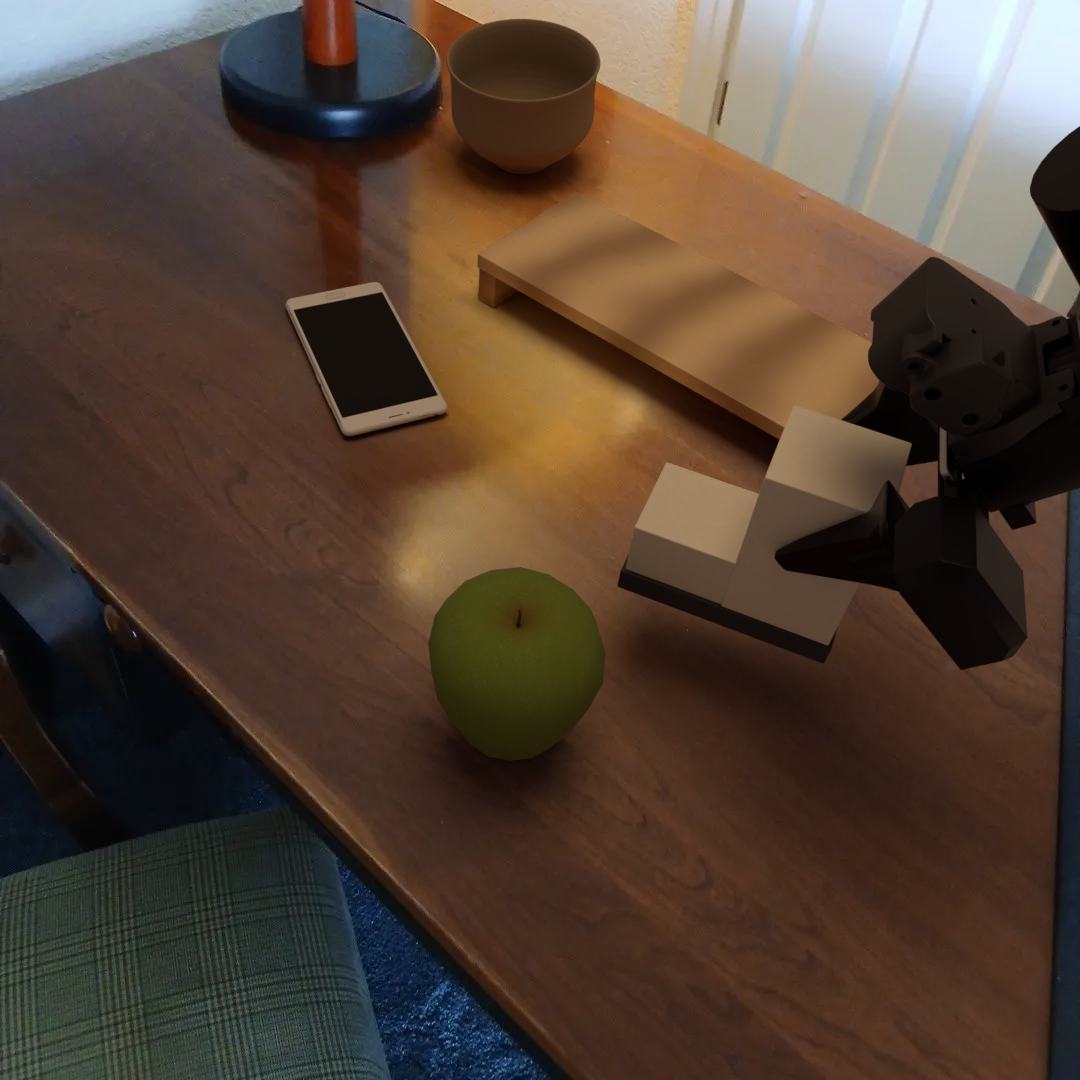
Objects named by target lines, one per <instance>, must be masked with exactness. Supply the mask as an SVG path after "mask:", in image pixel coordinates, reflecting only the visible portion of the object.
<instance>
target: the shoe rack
mask: <svg viewBox="0 0 1080 1080" xmlns="http://www.w3.org/2000/svg"><path fill="white" fill-rule="evenodd" d="M476 266H477V268H478V294H477V295H478V297H477V298H478V300H480V301H481V302H483V303H484V304H486V305H488V306H490V307H491V308H496V307H497V306H498V305H500V304H501V303H503V302H504V301H506V300H507V299H509V298H510V297H512V296H513V295H514V294H516V293H517V292H520V293H522V294H523V295H525V296H527V297H528V298H531V299H532V300H534V301H535V302H537V303H539V304H540V305H543V306H545V307H546V308H547V309H549V310H551V311H553V312H555V313H556V314H559V315H560V316H562V317H563V318H565V319H567V320H569V321H571V322H572V323H574V324H575V325H578V326H579V327H581V328H583V329H585V331H588V332H590V333H591V334H593V335H595V336H596V337H598V338H601V339H602V340H603V341H606V342H608V343H609V344H611V345H613V346H614V347H616V348H618V349H620V350H621V351H623V352H625V353H627V354H629V355H630V356H632V357H634V358H635V359H637V360H638V361H640V362H642V363H644V364H646V365H648V366H649V367H651V368H653V369H655V370H656V371H659V372H660V373H662V374H663V375H664V376H667V377H669V378H670V379H672V380H674V381H676V382H677V383H680V384H681V385H683V386H684V387H686V388H687V389H690V390H691V391H693V392H694V393H697V394H698V395H700V396H702V397H703V398H706V399H707V400H709V401H711V402H713V403H714V404H716V405H717V406H720V407H721V408H723V409H724V410H726V411H729V412H730V413H731V414H733V415H736V416H737V417H739V418H741V419H743V420H744V421H746V422H748V423H750V424H751V425H753V426H755V427H756V428H758V429H760V430H761V431H763V432H765V433H766V434H768V435H770V436H772V437H774V438H776V439H778V441H779V440H780V438H781V435H782V433H783V430H784V427H785V425H786V422H787V420H788V417H789V415H790V412H791V410H792V407H793V406H794V405H796V406H799V407H802V408H805V409H808V410H811V411H814V412H817V413H820V414H823V415H827V416H830V417H833V418H836V419H839V420H841V419H842V418H843V417H845V416H846V415H847V414H848V413H849V412H851V411H852V410H853V409H854V408H855V407H856V406H857V405H859V404H860V403H861V402H862V401H863V400H864V399H865V398H866V397H867V396H868V395H869V394H870V393H872V392H873V391H874V389H875V388H876V387H877V385H878V383H879V379H878V378H877V377H876V376H875V375H874V373H873V372H872V370H871V368H870V366H869V362H868V350H869V348H870V347H871V345H872V341H869V340H868V339H866V338H864V337H861V336H859V335H857V334H856V333H854V332H852V331H850V330H848V329H846V328H844V327H842V326H840V325H838V324H836V323H834V322H833V321H830V320H828V319H826V318H825V317H822V316H820V315H819V314H817V313H815V312H813V311H811V310H809V309H807V308H806V307H803V306H801V305H800V304H797V303H795V302H793V301H791V300H789V299H787V298H785V297H784V296H782V295H780V294H778V293H776V292H774V291H772V290H770V289H768V288H766V287H764V286H763V285H760V284H759V283H756V282H755V281H753V280H752V279H748V278H747V277H745V276H743V275H741V274H739V273H737V272H735V271H733V270H731V269H730V268H727V267H725V266H724V265H721V264H719V263H718V262H715V261H714V260H712V259H710V258H708V257H706V256H704V255H702V254H700V253H698V252H696V251H694V250H692V249H690V248H688V247H687V246H684V245H683V244H680V243H679V242H676V241H675V240H673V239H671V238H669V237H667V236H665V235H663V234H661V233H659V232H658V231H655V230H653V229H652V228H650V227H647V226H646V225H643V224H642V223H640V222H638V221H636V220H634V219H632V218H629V217H628V216H626V215H624V214H622V213H620V212H618V211H616V210H615V209H612V208H610V207H608V206H606V205H604V204H603V203H601V202H598V201H597V200H596V199H593V198H591V197H589V196H587V195H586V194H584V193H581V192H579V191H578V190H577V191H574V192H572V193H571V194H569V195H568V196H566V197H565V198H563V199H562V200H560V201H558V202H557V203H556V204H553V205H552V206H551V207H549V208H547V209H546V210H544V211H542V212H541V213H540V214H537V216H535V217H534V218H532V219H530V220H529V221H527V222H525V223H524V224H522V225H521V226H519V227H518V228H516V229H515V230H513V231H511V232H509V233H508V234H507V235H505V236H504V237H502V238H500V239H499V240H498V241H496V242H494V243H493V244H491V245H490V246H487V248H485V249H483V250H481V251H480V252H479V253H478V254H477V264H476Z"/></svg>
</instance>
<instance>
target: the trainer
mask: <svg viewBox="0 0 1080 1080" xmlns="http://www.w3.org/2000/svg"><path fill="white" fill-rule="evenodd" d="M911 446H912V444H911V443H909V442H906V441H903V440H900V439H897V438H894V437H891V436H888V435H885V434H882V433H879V432H876V431H872V430H869V429H866V428H863V427H860V426H857V425H854V424H851V423H848V422H845V421H842V420H839V419H836V418H833V417H830V416H827V415H823V414H820V413H817V412H814V411H811V410H808V409H805V408H802V407H799V406H796V405H794V406H793V407H792V410H791V412H790V415H789V417H788V420H787V422H786V425H785V427H784V430H783V433H782V435H781V438H780V440H779V439H778V443H777V445H776V448H775V451H774V453H773V456H772V458H771V461H770V464H769V465H768V468H767V471H766V473H765V476H764V477H763V478H764V479H763V481H762V484H761V487H760V490H759V493H757V492H755V491H752V490H749V489H747V488H746V489H745V488H743V487H740V486H737V485H735V484H731V483H729V482H725V481H722V480H720V479H717V478H714V477H712V476H708V475H705V474H702V473H699V472H697V471H694V470H691V469H689V468H685V467H682V466H680V465H676V464H673V463H671V462H665V463H664V466H663V467H662V469H661V472H660V474H659V476H658V478H657V480H656V482H655V484H654V486H653V488H652V490H651V492H650V494H649V496H648V498H647V500H646V503H645V505H644V506H643V509H642V511H641V513H640V515H639V516H638V519H637V521H636V523H635V525H634V528H633V532H632V537H631V541H630V546H629V551H628V554H627V556H626V558H625V560H624V562H623V564H622V566H621V568H620V571H619V576H618V581H617V587H618V588H619V589H623V590H625V591H628V592H630V593H633V594H636V595H639V596H641V597H644V598H646V599H649V600H652V601H655V602H657V603H660V604H662V605H665V606H667V607H671V608H672V609H676V610H678V611H681V612H683V613H686V614H689V615H692V616H695V617H697V618H700V619H702V620H704V621H705V620H706V621H708V622H710V623H713V624H716V625H718V626H721V627H724V628H726V629H729V630H732V631H735V632H737V633H739V634H742V635H745V636H748V637H750V638H753V639H755V640H758V641H761V642H764V643H766V644H768V645H771V646H774V647H777V648H779V649H782V650H784V651H787V652H790V653H793V654H795V655H798V656H801V657H803V658H806V659H809V660H812V661H815V662H817V663H820V664H822V665H823V664H825V662H826V661H827V659H828V657H829V655H830V653H831V651H832V649H833V645H834V642H835V639H836V635H837V631H838V629H839V625H840V623H841V621H842V620H843V617H844V615H845V613H846V611H847V610H848V607H849V606H850V604H851V601H852V599H853V597H854V595H855V594H856V592H857V589H858V587H859V585H860V583H858V582H852V581H846V580H840V579H833V578H827V577H821V576H815V575H809V574H803V573H797V572H791V571H786V570H784V569H783V568H782V567H781V566H780V565H779V564H778V563H777V561H776V560H775V558H774V557H775V552H776V550H778V549H780V548H782V547H784V546H786V545H788V544H790V543H792V542H794V541H796V540H798V539H800V538H802V537H805V536H808V535H810V534H813V533H815V532H818V531H820V530H823V529H826V528H828V527H831V526H833V525H836V524H838V523H841V522H843V521H846V520H849V519H851V518H854V517H856V516H859V515H861V514H864V513H866V512H868V511H869V510H870V509H871V507H872V505H873V503H874V502H875V500H876V498H877V496H878V494H879V492H880V490H881V488H882V486H883V484H884V483H885V482H886V481H887V480H889V481H890V482H891V483H892V485H893V486H894V487H895V489H896V490H897V491H898V493H899V494H900V490H901V485H902V482H903V480H904V476H905V472H906V468H907V466H906V464H907V461H908V457H909V453H910V450H911Z"/></svg>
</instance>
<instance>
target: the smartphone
mask: <svg viewBox="0 0 1080 1080" xmlns="http://www.w3.org/2000/svg"><path fill="white" fill-rule="evenodd" d="M285 309H286V311H287V314H288V316H289V318H290V321H291V322H292V325H293V327H294V329H295V332H296V333H297V335H298V338H299V340H300V342H301V344H302V345H301V346H303V349H304V351H305V353H306V355H307V358H308V360H309V362H310V365H311V367H312V369H313V371H314V374H315V377H316V379H317V381H318V384H319V385H320V388H321V390H322V393H323V395H324V397H325V399H326V402H327V404H328V406H329V408H330V409H331V411H332V414H333V416H334V419H335V421H336V422H337V425H338V427H339V429H340V432H341V433H342V434H343V435H344V436H346V437H354V436H358V435H363V434H367V433H370V432H371V433H372V432H376V431H379V430H383V429H387V428H391V427H395V426H399V425H403V424H408V423H412V422H415V421H418V420H423V419H427V418H432V417H436V416H440V415H443V414H445V413H447V411H448V408H449V407H448V404H447V402H446V400H445V398H444V396H443V394H442V392H441V391H440V389H439V387H438V386H437V383H436V382H435V380H434V378H433V376H432V375H431V372H430V371H429V368H428V367H427V365H426V363H425V362H424V360H423V358H422V356H421V354H420V353H419V350H418V348H417V347H416V345H415V343H414V342H413V340H412V338H411V336H410V334H409V332H408V330H407V328H406V326H405V325H404V323H403V321H402V319H401V317H400V316H399V313H398V312H397V310H396V308H395V306H394V305H393V303H392V301H391V299H390V297H389V295H388V294H387V292H386V290H385V288H384V286H383V285H382V283H380V282H377V281H372V282H367V283H362V284H357V285H351V286H346V287H341V288H337V289H331V290H327V291H321V292H316V293H311V294H305V295H301V296H295V297H291V298H288V299H287V300H286V302H285Z"/></svg>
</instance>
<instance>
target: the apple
mask: <svg viewBox="0 0 1080 1080" xmlns="http://www.w3.org/2000/svg"><path fill="white" fill-rule="evenodd" d="M427 647H428V654H429V655H428V656H429V663H430V670H431V676H432V681H433V686H434V690H435V695H436V700H437V702H438V703H439V705H440V706H441V708H442V709H443V710H444V712H445V714H446V715H447V717H448V718H449V720H450V721H451V722H452V724H453V725H454V726H455V727H456V729H457V730H458V731H459V732H460V733H461V735H462V736H463V737H464V738H465V740H466V741H467V742H468V743H469V744H470V745H471V746H472V747H474V748H475V749H476V750H478V751H480V752H481V753H482V754H484V755H485V756H487V757H490V758H494V759H499V760H504V761H510V762H511V761H518V760H528V759H533V758H535V757H536V756H538V755H540V754H542V753H543V752H545V751H548V750H550V749H551V747H553V746H554V745H555V744H557V743H558V742H560V740H562V739H563V738H564V737H566V735H568V734H569V733H570V732H571V731H572V730H573V729H574V727H575V726H576V725H577V724H578V723H579V722H580V720H581V719H582V718H583V717H584V716H585V715H586V714H587V712H588V711H589V709H591V706H592V704H593V703H594V700H595V698H596V696H597V695H598V694H599V691H600V689H601V688H602V686H603V684H604V673H605V663H606V650H605V647H604V644H603V641H602V637H601V633H600V630H599V627H598V624H597V620H596V619H595V616H594V613H593V610H592V608H591V607H590V606H589V605H588V603H586V602H585V601H584V600H583V598H582V597H581V596H580V595H579V594H578V593H577V592H576V591H575V590H574V589H573V588H572V587H570V586H568V585H567V584H565V583H564V582H562V581H561V580H559V579H557V578H556V577H554V576H553V575H551V574H549V573H545V572H541V571H537V570H533V569H530V568H527V567H522V566H516V567H508V568H499V569H491V570H487V571H486V572H484V573H481V574H478V575H476V576H474V577H471V578H469V579H466V580H465V581H463V582H462V583H461V584H460V585H459V586H458V587H457V588H456V589H455V590H454V591H453V592H452V593H451V594H450V595H449V596H448V597H447V598H446V599H445V600H444V602H443V603H442V604H441V606H440V608H438V611H437V612H436V613H435V615H434V619H433V623H432V626H431V630H430V635H429V638H428V643H427Z"/></svg>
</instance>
